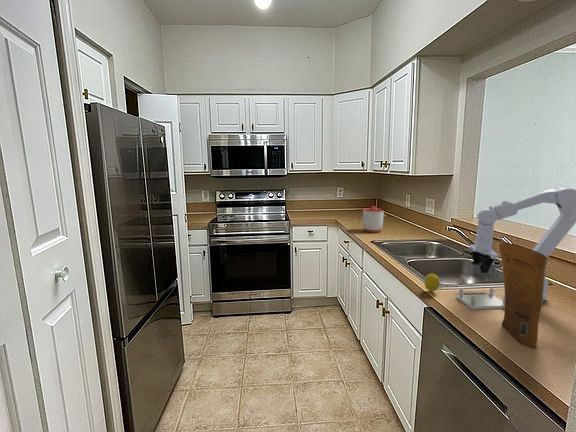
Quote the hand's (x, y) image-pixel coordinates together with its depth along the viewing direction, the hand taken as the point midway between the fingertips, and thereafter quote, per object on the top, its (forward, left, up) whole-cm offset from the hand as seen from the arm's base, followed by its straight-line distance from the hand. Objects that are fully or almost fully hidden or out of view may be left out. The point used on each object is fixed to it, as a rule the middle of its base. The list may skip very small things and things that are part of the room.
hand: (481, 270), depth 131 cm
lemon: (+21, +1, -8) cm, 23 cm away
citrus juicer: (+7, -114, -8) cm, 115 cm away
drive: (0, 0, -2) cm, 2 cm away
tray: (+7, +12, -8) cm, 16 cm away
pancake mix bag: (+11, +34, -8) cm, 37 cm away
